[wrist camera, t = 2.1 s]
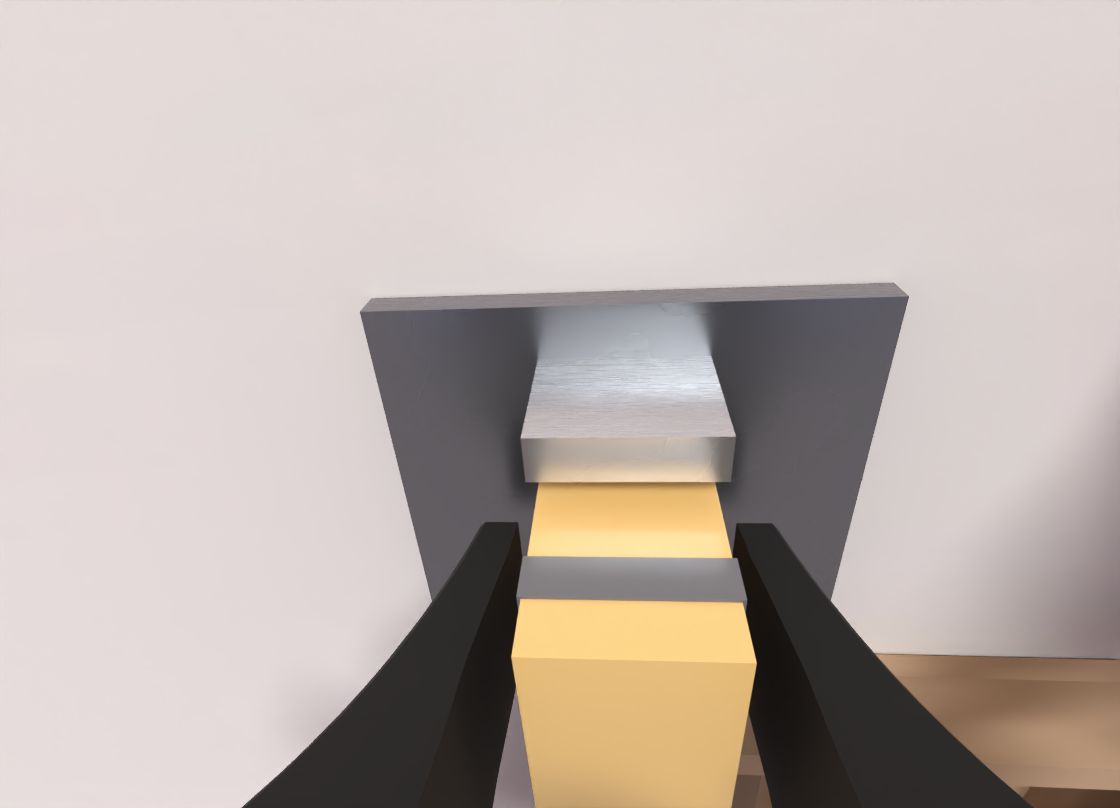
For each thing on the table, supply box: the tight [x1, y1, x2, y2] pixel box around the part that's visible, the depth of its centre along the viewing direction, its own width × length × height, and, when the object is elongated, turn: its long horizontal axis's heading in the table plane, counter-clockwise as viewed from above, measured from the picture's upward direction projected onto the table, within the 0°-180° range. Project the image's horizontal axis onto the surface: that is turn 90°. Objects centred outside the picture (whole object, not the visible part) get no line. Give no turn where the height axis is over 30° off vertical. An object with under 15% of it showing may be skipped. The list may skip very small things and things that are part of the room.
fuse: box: [511, 482, 757, 808], centre depth 10 cm, size 3×4×5 cm, turn 3°
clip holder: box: [360, 283, 909, 601], centre depth 12 cm, size 9×9×3 cm
